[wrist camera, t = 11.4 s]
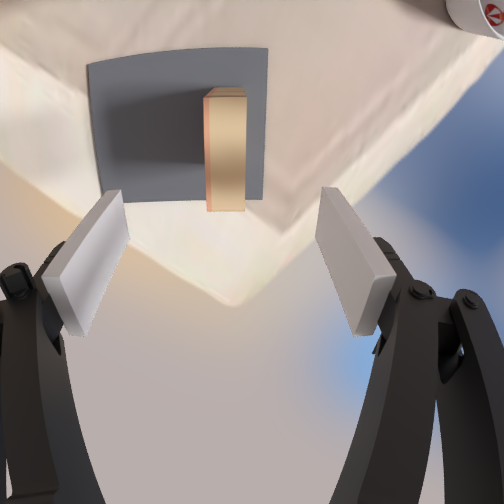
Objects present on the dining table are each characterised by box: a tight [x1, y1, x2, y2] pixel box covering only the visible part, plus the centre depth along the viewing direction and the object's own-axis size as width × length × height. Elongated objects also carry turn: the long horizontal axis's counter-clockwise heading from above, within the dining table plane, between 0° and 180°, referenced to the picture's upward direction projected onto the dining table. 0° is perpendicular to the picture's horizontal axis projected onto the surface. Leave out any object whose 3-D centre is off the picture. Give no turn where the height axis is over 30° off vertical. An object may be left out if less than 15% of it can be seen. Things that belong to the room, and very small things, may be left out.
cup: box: [446, 0, 504, 40], centre depth 18 cm, size 11×8×8 cm
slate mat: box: [88, 48, 268, 203], centre depth 31 cm, size 18×20×1 cm
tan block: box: [203, 87, 247, 212], centre depth 27 cm, size 9×3×12 cm, turn 179°
